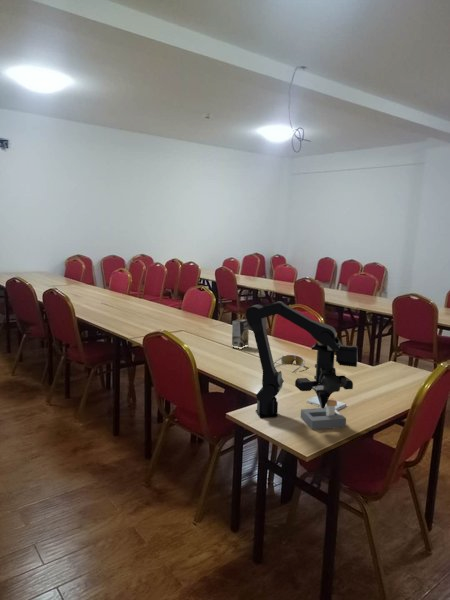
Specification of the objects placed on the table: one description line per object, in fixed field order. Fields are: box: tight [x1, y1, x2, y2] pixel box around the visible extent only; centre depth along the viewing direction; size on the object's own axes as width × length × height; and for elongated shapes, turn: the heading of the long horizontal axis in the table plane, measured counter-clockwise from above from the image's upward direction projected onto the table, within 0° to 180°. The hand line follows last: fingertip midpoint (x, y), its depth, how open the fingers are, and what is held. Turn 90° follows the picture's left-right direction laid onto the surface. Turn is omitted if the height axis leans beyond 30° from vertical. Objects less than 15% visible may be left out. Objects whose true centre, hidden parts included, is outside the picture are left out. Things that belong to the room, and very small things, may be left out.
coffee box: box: [231, 318, 250, 347], centre depth 252 cm, size 9×6×16 cm
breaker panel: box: [300, 407, 347, 431], centre depth 148 cm, size 12×10×3 cm
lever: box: [326, 397, 338, 416], centre depth 149 cm, size 3×3×6 cm
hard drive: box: [306, 395, 347, 411], centre depth 165 cm, size 2×8×12 cm
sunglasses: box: [273, 353, 306, 373], centre depth 214 cm, size 14×15×5 cm
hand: (322, 408), depth 148 cm, fingers closed
